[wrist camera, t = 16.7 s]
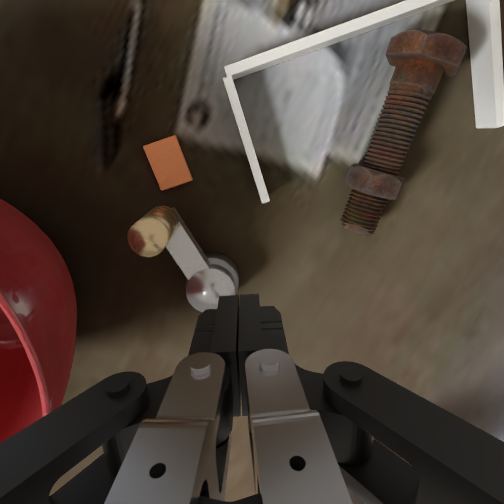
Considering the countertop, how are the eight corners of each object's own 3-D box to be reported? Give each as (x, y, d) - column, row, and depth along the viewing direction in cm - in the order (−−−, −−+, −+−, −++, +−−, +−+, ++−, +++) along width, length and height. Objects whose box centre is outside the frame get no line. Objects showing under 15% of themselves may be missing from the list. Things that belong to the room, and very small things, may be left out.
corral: (484, 125, 28) (505, 124, 26) (260, 198, 30) (262, 203, 28) (473, -18, 25) (497, -34, 23) (221, 73, 27) (219, 68, 24)
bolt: (337, 216, 33) (398, 50, 28) (387, 234, 31) (463, 60, 26) (320, 224, 28) (391, 22, 23) (379, 246, 26) (471, 33, 21)
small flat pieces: (245, 290, 33) (245, 298, 32) (199, 303, 34) (197, 312, 32) (187, 131, 28) (183, 130, 26) (133, 149, 29) (126, 150, 27)
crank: (243, 293, 31) (243, 331, 25) (204, 313, 32) (194, 354, 26) (180, 191, 28) (162, 207, 22) (137, 216, 28) (108, 238, 22)
